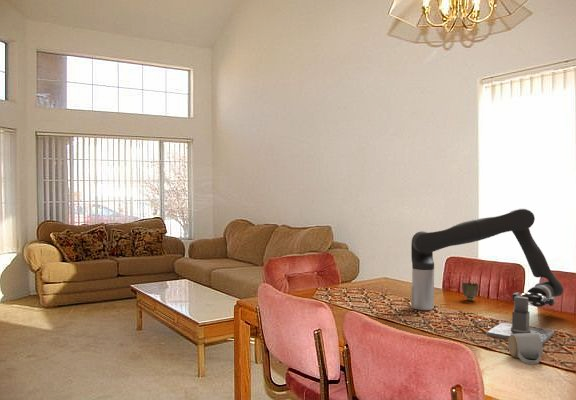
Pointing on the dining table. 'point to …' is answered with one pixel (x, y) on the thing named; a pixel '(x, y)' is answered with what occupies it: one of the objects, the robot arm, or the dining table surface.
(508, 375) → the dining table surface
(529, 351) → the ceramic mug
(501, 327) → the base plate
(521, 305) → the knob
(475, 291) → the cup
